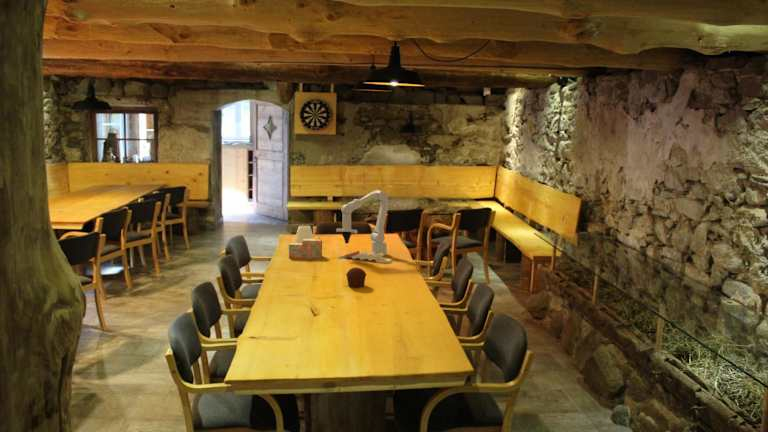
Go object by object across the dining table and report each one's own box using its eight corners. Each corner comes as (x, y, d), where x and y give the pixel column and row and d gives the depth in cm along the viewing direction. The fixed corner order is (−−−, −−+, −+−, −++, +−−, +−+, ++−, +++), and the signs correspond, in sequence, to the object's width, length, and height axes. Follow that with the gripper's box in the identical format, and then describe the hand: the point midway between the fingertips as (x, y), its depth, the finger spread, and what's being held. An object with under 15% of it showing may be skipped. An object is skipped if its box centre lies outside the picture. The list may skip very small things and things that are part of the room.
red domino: (348, 256, 405) (359, 253, 401) (345, 258, 400) (356, 254, 396) (347, 254, 405) (358, 250, 401) (344, 255, 400) (355, 251, 396)
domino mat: (380, 260, 397) (380, 259, 397) (375, 263, 390) (375, 262, 390) (342, 256, 408) (342, 255, 408) (336, 259, 401) (336, 258, 401)
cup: (317, 246, 440) (317, 227, 437) (300, 248, 432) (300, 229, 430) (308, 243, 451) (308, 224, 448) (292, 245, 443) (291, 226, 441)
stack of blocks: (288, 258, 403) (288, 240, 401) (290, 256, 409) (290, 238, 407) (320, 259, 401) (320, 240, 399) (322, 256, 408) (322, 238, 406)
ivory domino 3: (372, 259, 398) (383, 255, 394) (369, 261, 393) (380, 256, 390) (371, 256, 398) (382, 252, 394) (367, 258, 393) (379, 253, 390)
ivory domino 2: (363, 258, 400) (375, 255, 397) (360, 260, 396) (372, 256, 392) (362, 255, 400) (374, 252, 397) (359, 257, 396) (371, 253, 392)
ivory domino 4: (378, 260, 396) (391, 262, 393) (375, 261, 392) (388, 264, 388) (378, 256, 396) (391, 259, 393) (375, 258, 391) (388, 260, 388)
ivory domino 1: (356, 257, 402) (367, 254, 399) (352, 259, 398) (364, 255, 394) (355, 254, 402) (366, 251, 399) (351, 256, 398) (363, 252, 394)
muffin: (368, 288, 335) (368, 270, 333) (349, 289, 332) (349, 271, 330) (363, 282, 346) (363, 265, 344) (344, 283, 343) (344, 266, 341)
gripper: (334, 223, 398) (334, 243, 400) (354, 224, 392) (354, 245, 394) (339, 221, 404) (339, 241, 406) (358, 222, 398) (358, 243, 401)
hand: (346, 243), depth 401 cm, fingers closed
